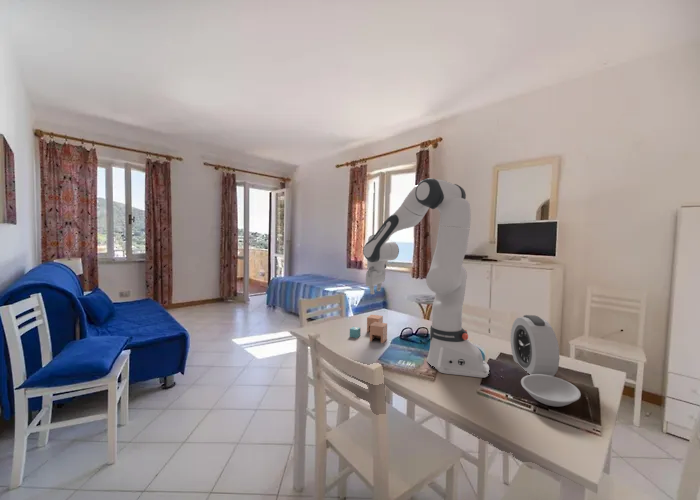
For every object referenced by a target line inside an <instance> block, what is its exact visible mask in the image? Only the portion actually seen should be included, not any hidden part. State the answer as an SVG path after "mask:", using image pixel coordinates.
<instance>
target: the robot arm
mask: <svg viewBox="0 0 700 500" xmlns="http://www.w3.org/2000/svg"><path fill="white" fill-rule="evenodd" d="M466 197H467V195H466V190H465V189H464V188H463V187H462V186H461V185H458V184H457V183H452V182H449V181H447V180H443V179H435V178H424V179H421V180H420V181H419V183H418V184H417V185H415V186H414V187H413V188H412V190H410V192H409V193H408V194H407V196H406V197H405V198H404V200H403V202H402V203H401V205H400V206H399V207H398V209H397V210H396V211H395V212H394V213H392V214H391V215H389V216H388V218H386V220H385V221H384V222H383V223H382V225H381V226H380V227H379V229H378V230H377V232H376V233H374V234H372V235H370V236H368V239H367V242H366V243H365V245H364V247H363V251H362V252H363V256H364V258H365V259H366V263H367V265H366V266H367V267H366V269H367V270H366V271H365V272H366V273H365V286H366V287H368V288H369V292H370V295H375V289H374V288H375V286H376V291H377V292H381V288H382V283H384V282H385V281H386V269H387V264H386V263H385V262H388V261H395V260H396V259H397V258H398V256H399V254H400V248H399V246H398V244H397V243H396V242H395V241H392V240H389V239H390V237H392V235H393V234H395V233H397V232H399V231H402V230H404V229H405V230H406V229H409V228H413V227H416V226H417V225H418V224H419V223H421V221H422V220H423V218H424V217H425V215H426V214H427V212H428V211H429V209H431V210H435V209H436V210H438V212H439V217H440V218H439V223H438V231H437V236H436V245H435V250H434V253H433V256H432V260H431V264H430V267H429V271H428V272H427V274H426V278H425V279H426V285H427V287H428V288H429V290H430V291H431V292H433V293H435V294H434V295H435V296H434V299H433V302H432V306H431V325H430V329H429V339H430V344H429V350H428V354H427V358H426V362H427V361H428V363H429V364H430V365H431V366H430V365H429V364H428V363H427V364H428V365H429V366H430V367H432V366H434V367H435V368H434V367H433V368H434V369H436V370H437V371H438V372H439V373H442V374H448V375H456V376H466V377H475V378H487V377H488V376H489V375H490V372H489V370H490V366H489V363H487V362H486V361H485V360H484V358H483V354H482V351H481V350H480V348H478V346H476V345H475V344H474V343H472V342H471V341H470V340H469V339H468V338H469V334H468V330H467V329H465V328H463V326H462V325H463V305H464V299H465V296H466V295H465V294H466V287H467V286H466V285H467V279H468V273H467V271H466V268H465V267H464V266H463V263H464V259H465V257H466V253H467V250H468V244H469V236H470V229H471V204H470V201H468V200H467V199H466ZM488 374H489V375H488Z"/></svg>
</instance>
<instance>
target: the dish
mask: <svg viewBox="0 0 700 500" xmlns="http://www.w3.org/2000/svg"><path fill="white" fill-rule="evenodd" d="M520 384H521V386H522V388H523V389H524V390H525V391H526V392H527V393H528V394H529V395H530V396H531V397H532V398H533V399H534V400H536V401H537V402H539V403H541V404H543V405H545V406H551V407H556V408H557V407H564V406H565V407H566V406H568V405H570V404H572V403H574V402H577V401H579V399H581V395H582V393H581V391H580V389H579V388H578V387H577V386H576V385H574V384H572V383H571V382H569V381H568V380H565V379H563V378H560V377H557V376H555V375H554V376H550V375H544V374H531V375H528V374H527V375H525V376H523V377H522V378H521V380H520Z"/></svg>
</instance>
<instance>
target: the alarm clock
mask: <svg viewBox="0 0 700 500" xmlns="http://www.w3.org/2000/svg"><path fill="white" fill-rule="evenodd" d="M511 326H512V327H511V329H510V331H511V332H510V348H511V355H512V358H513V361H514V362H515V363H516V364H517V363H518V364H519V365H520V366H521V367H522V368H523V369H524V370H525V371H527V373H529V374H530V375H531V374H544V375H550V376H554V377H555V375H556V374H557V372H558V370H559V366H560V365H559V364H560V346H559V342H558V338H557V336H556V333H555V331H554V328H553V327H552V325H551V324H550V323H549V322H548V321H547V320H545V318H541V317H539V316H538V315H532V314H525V315H523V316H522V317H521V316H519V317H516V319H515V320H514V321H513V323H512V325H511ZM518 364H517V365H518ZM519 365H518V366H519ZM520 366H519V367H520ZM521 367H520V368H521ZM522 368H521V369H522ZM523 369H522V370H523ZM524 370H523V371H524ZM525 371H524V372H525ZM527 373H526V374H527Z"/></svg>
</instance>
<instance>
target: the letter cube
mask: <svg viewBox="0 0 700 500" xmlns="http://www.w3.org/2000/svg"><path fill="white" fill-rule="evenodd" d="M359 337H361V327H358V326H352V327H350V328H349V338H353V339H354V338H355V339H358V338H359Z"/></svg>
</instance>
